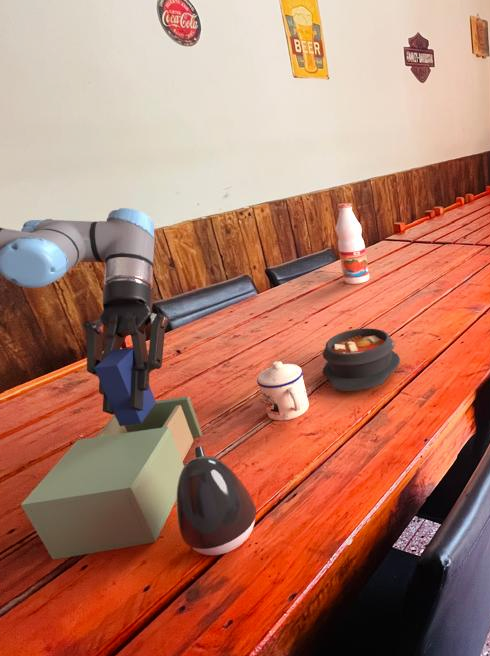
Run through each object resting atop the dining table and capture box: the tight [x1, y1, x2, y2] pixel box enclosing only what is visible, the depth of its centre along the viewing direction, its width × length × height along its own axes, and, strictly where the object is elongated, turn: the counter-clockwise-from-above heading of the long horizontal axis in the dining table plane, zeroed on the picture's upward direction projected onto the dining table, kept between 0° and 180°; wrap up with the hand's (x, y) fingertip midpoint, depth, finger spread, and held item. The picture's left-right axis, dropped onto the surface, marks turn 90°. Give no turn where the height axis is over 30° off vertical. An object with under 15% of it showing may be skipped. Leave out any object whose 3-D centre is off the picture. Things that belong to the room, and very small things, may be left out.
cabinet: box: [20, 427, 185, 560], centre depth 82 cm, size 16×14×11 cm
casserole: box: [322, 327, 401, 392], centre depth 123 cm, size 25×19×8 cm
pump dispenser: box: [176, 445, 257, 556], centre depth 75 cm, size 10×10×15 cm
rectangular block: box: [94, 347, 157, 426], centre depth 89 cm, size 4×7×12 cm, turn 11°
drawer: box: [95, 396, 203, 463], centre depth 95 cm, size 19×13×9 cm
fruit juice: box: [335, 202, 370, 285], centre depth 185 cm, size 9×9×28 cm
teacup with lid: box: [256, 360, 310, 421], centre depth 107 cm, size 12×9×12 cm
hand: (123, 410), depth 87 cm, fingers closed on rectangular block, 3 cm apart
